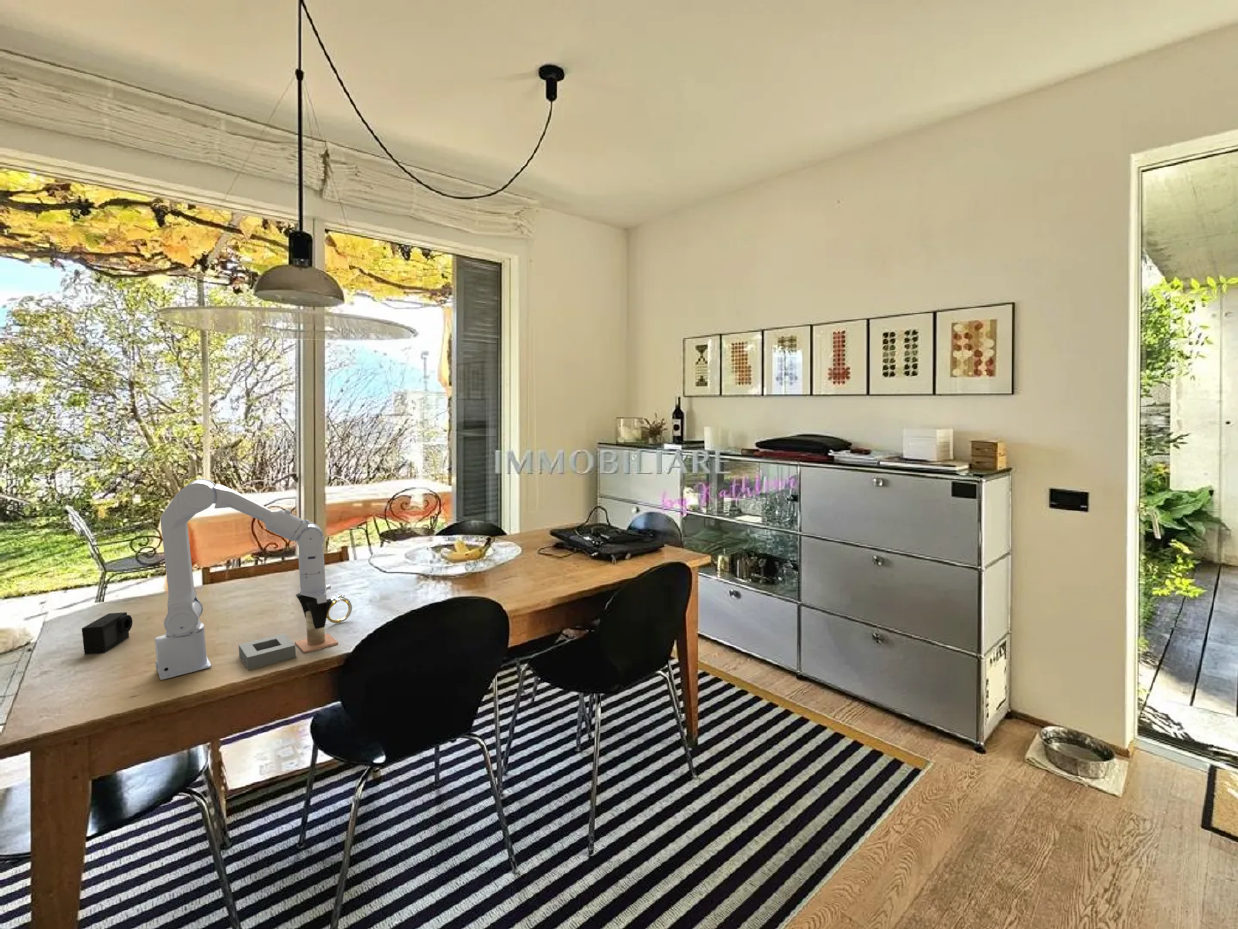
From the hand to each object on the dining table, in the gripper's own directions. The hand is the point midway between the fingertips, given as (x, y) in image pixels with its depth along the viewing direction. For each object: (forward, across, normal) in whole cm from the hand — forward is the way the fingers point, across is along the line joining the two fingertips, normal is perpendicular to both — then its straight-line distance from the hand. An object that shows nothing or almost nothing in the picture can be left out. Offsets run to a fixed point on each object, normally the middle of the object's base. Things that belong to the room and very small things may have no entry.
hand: (315, 623), depth 149 cm
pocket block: (+5, 0, +11) cm, 12 cm away
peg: (+5, 0, 0) cm, 5 cm away
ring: (+6, +11, -9) cm, 15 cm away
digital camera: (+6, +35, +39) cm, 53 cm away
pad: (+5, 0, 0) cm, 5 cm away
